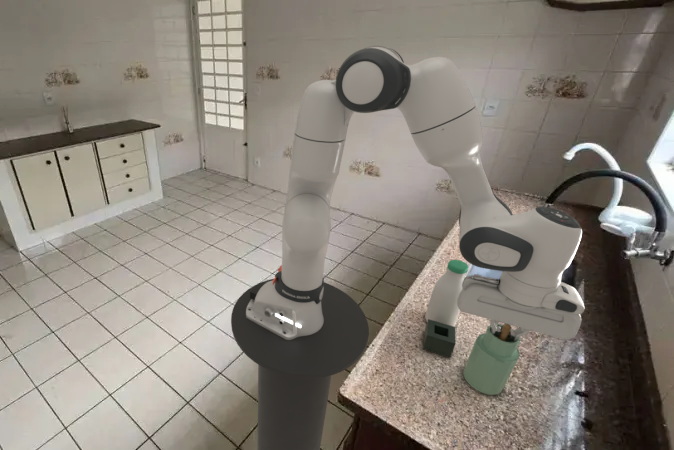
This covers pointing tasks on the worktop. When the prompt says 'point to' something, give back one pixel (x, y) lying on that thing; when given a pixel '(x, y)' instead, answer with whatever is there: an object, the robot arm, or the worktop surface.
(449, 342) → the spoon holder
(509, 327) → the wooden stick
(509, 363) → the green jar
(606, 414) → the worktop surface
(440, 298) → the milk bottle
